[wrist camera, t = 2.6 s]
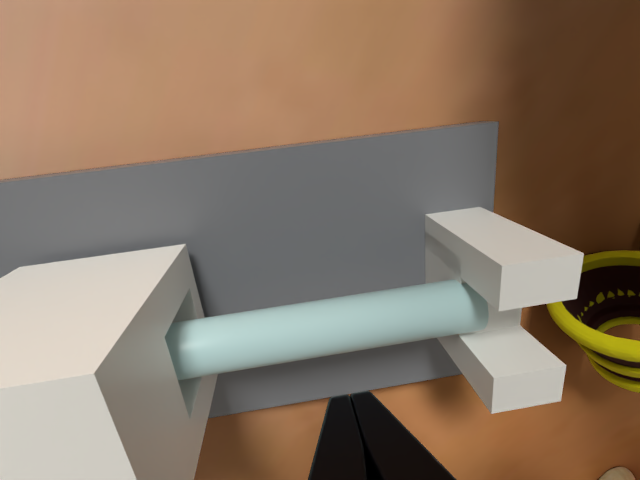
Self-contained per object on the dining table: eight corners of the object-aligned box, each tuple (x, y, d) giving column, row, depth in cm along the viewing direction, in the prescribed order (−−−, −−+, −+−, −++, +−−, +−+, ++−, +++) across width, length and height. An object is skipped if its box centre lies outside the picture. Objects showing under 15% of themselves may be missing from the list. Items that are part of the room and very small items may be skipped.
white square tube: (185, 244, 11) (93, 373, 6) (218, 371, 13) (172, 570, 7) (19, 266, 11) (-259, 430, 5) (76, 395, 13) (-88, 622, 7)
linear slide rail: (482, 121, 12) (650, 126, 7) (471, 355, 16) (578, 486, 10) (-346, 222, 11) (-1043, 341, 5) (-158, 462, 14) (-448, 694, 8)
